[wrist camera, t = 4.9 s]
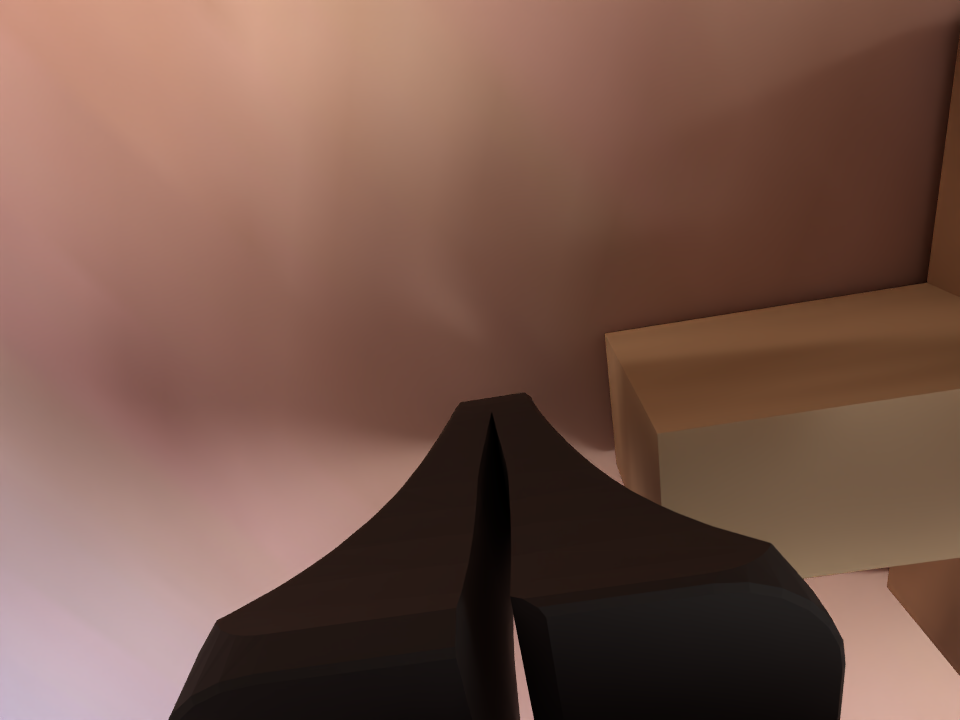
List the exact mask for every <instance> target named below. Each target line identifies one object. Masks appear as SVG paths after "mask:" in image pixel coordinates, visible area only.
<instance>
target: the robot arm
mask: <svg viewBox="0 0 960 720" xmlns="http://www.w3.org/2000/svg"><path fill="white" fill-rule="evenodd" d="M513 614H514V620H515V625H516V630H517V635H518V640H519V645H520V650H521V655H522V660H523V665H524V670H525V676H526V681H527V686H528V691H529V696H530V701H531V706H532V711H533V716H534V720H840V714H841V704H842V694H843V684H844V674H845V653H844V643H843V639H842V637H841V635H840V633H839V631H838V630H837V628H836V626H835V624H834V622H833V620H832V618H831V617H830V615H829V614H828V612H827V611H826V609H825V608H824V606H823V605H822V603H821V602H820V600H819V599H818V597H817V596H816V595H815V593H814V592H813V591H812V589H811V588H810V587H809V586H808V585H807V583H806V582H805V581H804V580H803V579H802V577H801V576H800V575H799V574H798V573H797V571H796V570H795V569H794V568H793V567H792V566H791V565H790V564H789V562H788V561H787V560H786V559H785V558H784V557H783V556H782V555H781V553H780V552H779V551H778V550H777V549H776V548H775V547H774V545H773V544H771V543H769V542H766V541H762V540H759V539H755V538H752V537H748V536H745V535H742V534H738V533H735V532H731V531H728V530H724V529H721V528H717V527H714V526H711V525H708V524H705V523H702V522H700V521H697V520H695V519H692V518H689V517H687V516H684V515H682V514H679V513H677V512H674V511H672V510H670V509H668V508H665V507H663V506H661V505H659V504H656V503H654V502H653V501H651V500H649V499H647V498H645V497H643V496H641V495H639V494H637V493H635V492H633V491H631V490H630V489H628V488H626V487H624V486H623V485H621V484H619V483H618V482H616V481H615V480H613V479H612V478H610V477H609V476H607V475H606V474H605V473H603V472H602V471H601V470H599V469H598V468H597V467H595V466H594V465H593V464H592V463H590V462H589V461H588V460H587V459H586V458H584V457H583V456H582V455H581V454H580V453H579V452H577V451H576V450H575V449H574V448H573V447H572V446H571V445H570V444H569V443H568V442H567V441H566V440H565V439H564V438H563V437H562V436H561V435H560V434H559V433H558V432H557V431H556V430H555V429H554V428H553V427H552V426H551V424H550V423H549V422H548V421H547V420H546V419H545V417H544V416H543V415H542V414H541V412H540V411H539V410H538V408H537V407H536V405H535V404H534V402H533V401H532V398H531V397H530V396H529V395H527V394H526V393H518V394H512V395H505V396H499V397H492V398H486V399H480V400H473V401H467V402H461V403H460V404H459V405H458V407H457V408H456V409H455V411H454V413H453V414H452V416H451V418H450V420H449V421H448V423H447V425H446V426H445V428H444V430H443V431H442V433H441V435H440V436H439V438H438V439H437V441H436V442H435V444H434V445H433V447H432V448H431V450H430V451H429V453H428V454H427V456H426V457H425V458H424V460H423V461H422V463H421V464H420V465H419V467H418V468H417V469H416V470H415V472H414V473H413V474H412V475H411V477H410V478H409V479H408V481H407V482H406V483H405V484H404V486H403V487H402V488H401V489H400V490H399V491H398V492H397V494H396V495H395V496H394V497H393V498H392V499H391V500H390V501H389V502H388V503H387V504H386V505H385V506H384V507H383V508H382V509H381V510H380V511H379V512H378V513H377V514H376V515H375V516H374V517H373V518H371V519H370V520H369V521H368V522H367V523H366V524H364V525H363V526H362V527H361V528H360V529H358V530H357V531H356V532H355V533H354V534H352V535H351V536H350V537H349V538H348V539H346V540H345V541H344V542H343V543H342V544H340V545H339V546H338V547H337V548H335V549H334V550H333V551H331V552H330V553H329V554H327V555H326V556H324V557H323V558H322V559H320V560H319V561H317V562H316V563H315V564H313V565H312V566H310V567H309V568H307V569H306V570H304V571H303V572H301V573H300V574H298V575H297V576H295V577H293V578H292V579H290V580H289V581H287V582H286V583H284V584H282V585H281V586H279V587H277V588H276V589H274V590H272V591H270V592H269V593H267V594H265V595H263V596H261V597H259V598H258V599H256V600H254V601H252V602H250V603H249V604H247V605H245V606H243V607H241V608H240V609H238V610H236V611H234V612H232V613H231V614H229V615H227V616H225V617H223V618H221V619H219V620H217V621H216V623H215V625H214V626H213V628H212V630H211V632H210V634H209V636H208V637H207V639H206V641H205V643H204V645H203V647H202V648H201V650H200V652H199V654H198V656H197V658H196V661H195V663H194V665H193V667H192V670H191V672H190V674H189V676H188V678H187V681H186V683H185V685H184V687H183V689H182V691H181V694H180V696H179V698H178V700H177V702H176V704H175V707H174V709H173V711H172V713H171V715H170V717H169V719H168V720H520V714H519V703H518V693H517V682H516V672H515V661H514V639H513Z"/></svg>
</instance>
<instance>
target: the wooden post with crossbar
mask: <svg viewBox="0 0 960 720" xmlns="http://www.w3.org/2000/svg"><path fill="white" fill-rule="evenodd" d="M605 343H606V354H607V365H608V376H609V387H610V398H611V409H612V420H613V431H614V442H615V453H616V464H617V467H618V470H619V472H620V475H621V477H622V480H623V483H624V485H625V487H626V488H628V489H630V490H631V491H633V492H635V493H637V494H639V495H641V496H643V497H645V498H647V499H649V500H651V501H653V502H654V503H656V504H659V505H661V506H663V507H665V508H668V509H670V510H672V511H674V512H677V513H679V514H682V515H684V516H687V517H689V518H692V519H695V520H697V521H700V522H702V523H705V524H708V525H711V526H714V527H717V528H721V529H724V530H728V531H731V532H735V533H738V534H742V535H745V536H748V537H752V538H755V539H759V540H762V541H766V542H769V543H771V544H773V545H774V547H775V548H776V549H777V550H778V551H779V552H780V553H781V555H782V556H783V557H784V558H785V559H786V560H787V561H788V562H789V564H790V565H791V566H792V567H793V568H794V569H795V570H796V571H797V573H798V574H799V575H800V576H801V577H802V579H804V578H812V577H819V576H826V575H834V574H841V573H849V572H856V571H864V570H871V569H879V568H886V567H889V574H888V582H887V588H888V589H889V590H890V591H891V592H892V594H893V595H894V596H895V597H896V598H897V600H898V601H899V602H900V603H901V605H902V606H903V607H904V608H905V609H906V611H907V612H908V613H909V614H910V616H911V617H912V618H913V619H914V620H915V622H916V623H917V624H918V625H919V627H920V628H921V629H922V630H923V631H924V633H925V634H926V635H927V636H928V638H929V639H930V640H931V641H932V642H933V644H934V645H935V646H936V647H937V648H938V650H939V651H940V652H941V653H942V655H943V656H944V657H945V658H946V659H947V661H948V662H949V663H950V664H951V666H952V667H953V668H954V669H955V670H956V672H957V673H958V674H959V675H960V35H959V43H958V51H957V58H956V66H955V73H954V81H953V88H952V96H951V104H950V111H949V119H948V126H947V134H946V142H945V149H944V157H943V164H942V172H941V180H940V187H939V195H938V202H937V210H936V218H935V225H934V233H933V240H932V248H931V256H930V263H929V271H928V278H927V283H922V284H915V285H909V286H903V287H896V288H890V289H884V290H877V291H871V292H865V293H858V294H852V295H846V296H840V297H833V298H827V299H821V300H814V301H808V302H802V303H795V304H789V305H783V306H776V307H770V308H764V309H757V310H751V311H745V312H738V313H732V314H726V315H719V316H713V317H707V318H700V319H694V320H688V321H681V322H675V323H669V324H662V325H656V326H650V327H643V328H637V329H631V330H624V331H618V332H612V333H605Z"/></svg>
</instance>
